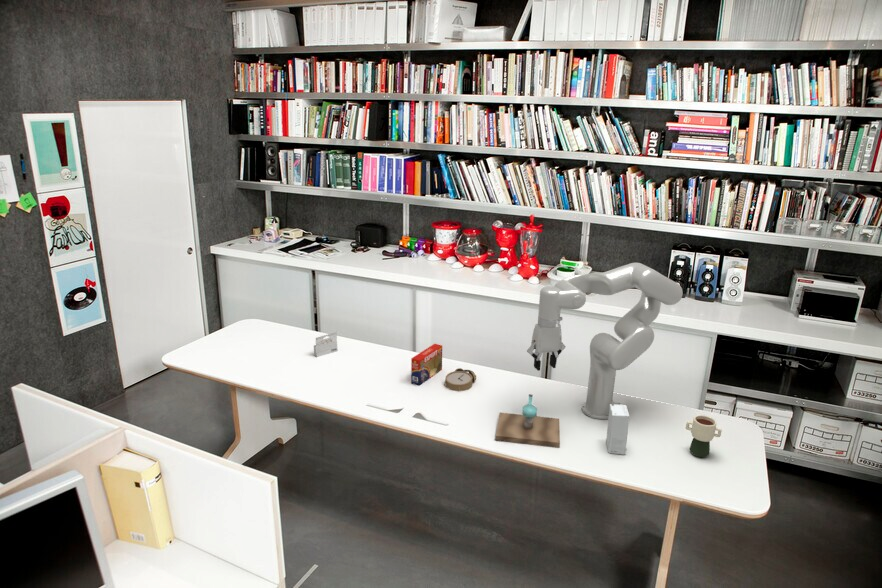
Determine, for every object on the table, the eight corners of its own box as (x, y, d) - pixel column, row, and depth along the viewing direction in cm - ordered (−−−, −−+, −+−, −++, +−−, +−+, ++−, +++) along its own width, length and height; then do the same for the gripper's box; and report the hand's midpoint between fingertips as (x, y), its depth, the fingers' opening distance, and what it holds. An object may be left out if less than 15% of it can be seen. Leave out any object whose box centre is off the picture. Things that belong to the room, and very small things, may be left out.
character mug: (716, 452, 203) (723, 419, 198) (715, 463, 197) (722, 429, 192) (682, 444, 207) (688, 411, 203) (680, 454, 201) (686, 421, 197)
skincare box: (625, 455, 200) (631, 417, 195) (607, 453, 201) (612, 415, 196) (622, 441, 208) (627, 404, 203) (604, 439, 209) (609, 402, 204)
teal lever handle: (535, 424, 208) (536, 412, 207) (521, 422, 209) (522, 410, 208) (536, 406, 220) (537, 394, 219) (523, 404, 221) (523, 393, 219)
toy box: (419, 386, 244) (419, 360, 240) (411, 383, 246) (411, 358, 242) (442, 369, 259) (442, 345, 255) (434, 367, 261) (434, 343, 257)
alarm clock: (439, 380, 243) (458, 361, 254) (440, 390, 245) (459, 371, 256) (463, 388, 237) (481, 368, 248) (464, 398, 240) (482, 378, 250)
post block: (558, 423, 219) (560, 406, 216) (559, 447, 204) (561, 430, 201) (499, 417, 222) (500, 400, 220) (495, 440, 207) (496, 423, 205)
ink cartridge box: (313, 355, 270) (312, 336, 267) (335, 349, 277) (334, 330, 273) (316, 357, 268) (315, 337, 265) (337, 351, 275) (337, 331, 272)
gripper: (564, 315, 214) (560, 360, 220) (521, 320, 209) (518, 366, 215) (575, 322, 208) (570, 368, 214) (532, 328, 202) (528, 375, 208)
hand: (544, 367), depth 214 cm, fingers open, 5 cm apart
